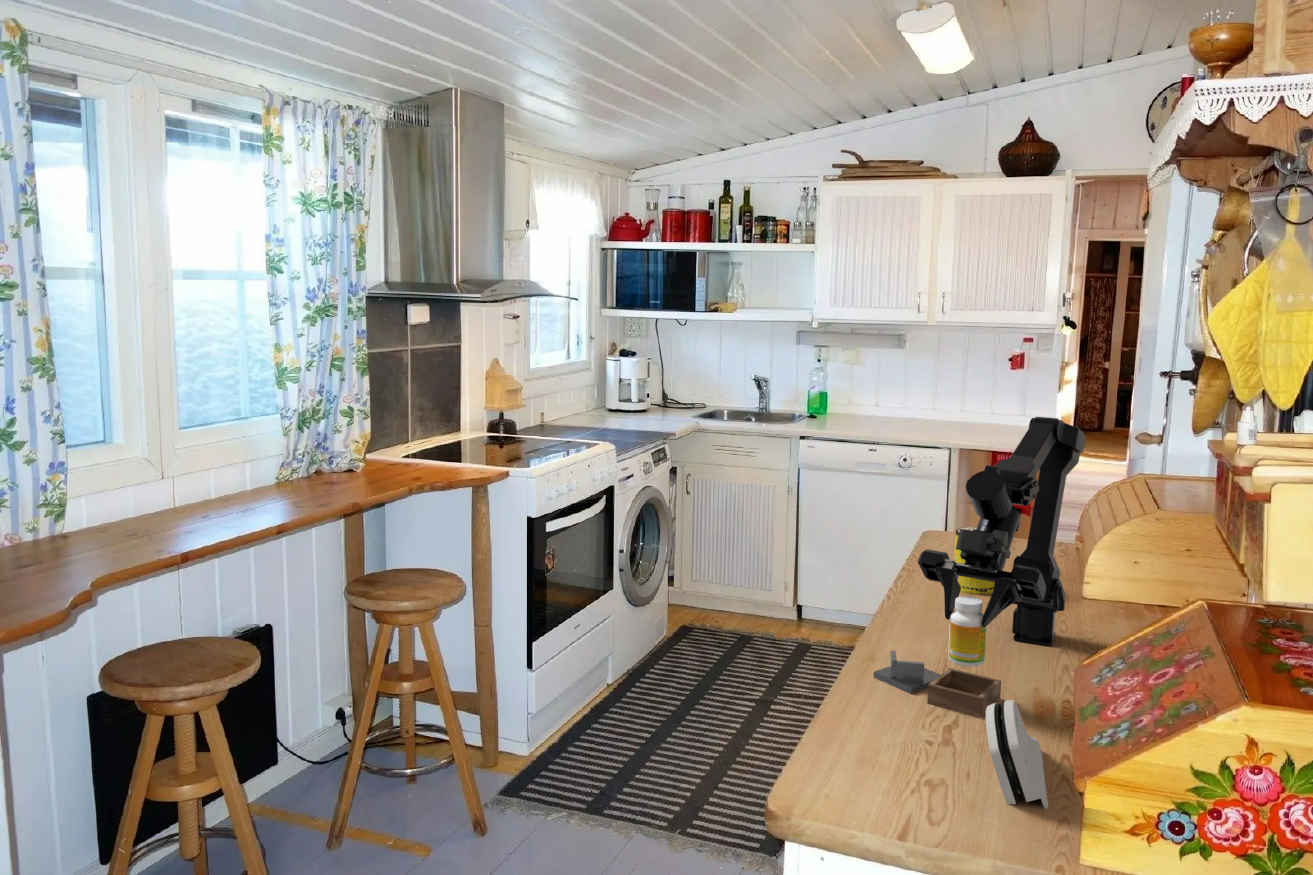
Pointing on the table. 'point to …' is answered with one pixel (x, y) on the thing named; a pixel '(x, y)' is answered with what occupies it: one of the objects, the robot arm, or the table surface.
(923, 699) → the table surface
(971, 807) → the table surface
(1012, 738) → the white black-striped casing block
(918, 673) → the v-block
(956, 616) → the supplement bottle
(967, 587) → the beverage can
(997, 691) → the block
